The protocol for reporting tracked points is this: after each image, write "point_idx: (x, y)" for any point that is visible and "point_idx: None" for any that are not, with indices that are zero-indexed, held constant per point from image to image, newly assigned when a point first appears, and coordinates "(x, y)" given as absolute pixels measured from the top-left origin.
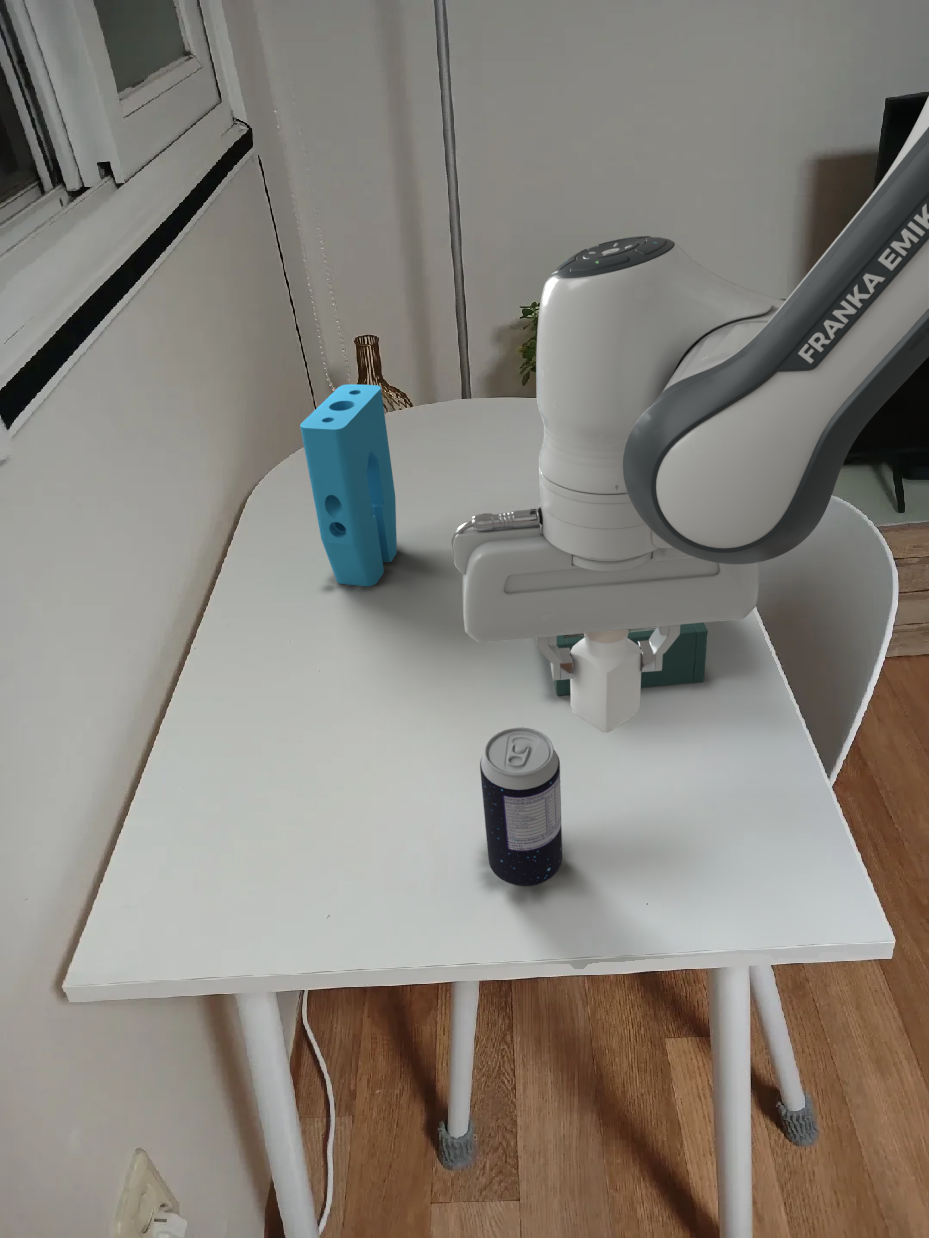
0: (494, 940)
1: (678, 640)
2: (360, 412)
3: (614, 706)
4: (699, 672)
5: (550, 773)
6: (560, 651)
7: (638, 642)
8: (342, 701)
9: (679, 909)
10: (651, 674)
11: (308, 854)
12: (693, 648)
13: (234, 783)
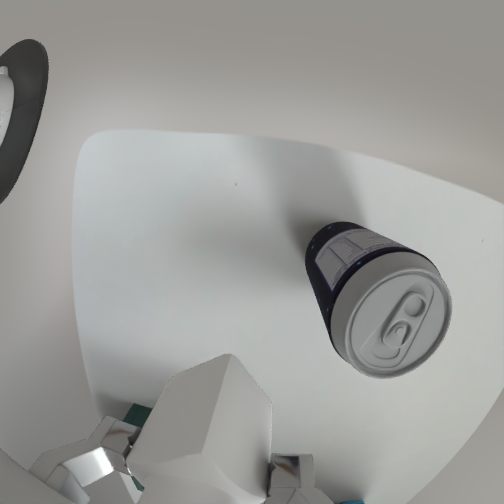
0: (384, 178)
1: None
2: None
3: (205, 386)
4: (133, 410)
5: (360, 275)
6: (285, 502)
7: (131, 474)
8: (409, 434)
9: (208, 172)
10: None
11: (480, 302)
12: None
13: (489, 368)
